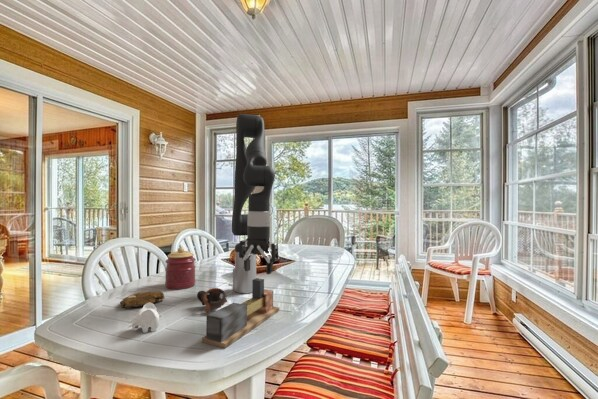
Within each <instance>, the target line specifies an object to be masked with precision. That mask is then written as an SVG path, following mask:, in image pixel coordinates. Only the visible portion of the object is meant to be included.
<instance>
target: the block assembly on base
mask: <svg viewBox="0 0 598 399" xmlns="http://www.w3.org/2000/svg"><path fill="white" fill-rule="evenodd" d="M264 296H265V305H264V306H263V307H261V308H259V309H258V310H256V311H254V312H253V313H251V314H249V315H248V316H247V305H245V304H241V303H239V302H231V303H229V304H228V305H225V306H224V307H223V306H222V307H220V309H219V308H218V309H216V311H214V312H211V313H208V314H207V315H206V325H205V326H206V334H205V336H203V337H202V338H201V343H204V344H208V345H212V346H215V347H219V348H223V349H227V348H228V347H230V346H231V345H232V344H234V343H236V342H237V341H238V340H239V339H241V338H242V337H244V336H245V335H247V334H248V333H250V332H252V330H254V329H255V328H257V327H258V326H260V325H261V324H263V323H264V322H265V321H267V320H269V319H270V318H271V317H273V316H274V315H276V314H277V313H279V312H280V306H274V291H273V290H269V289H265V288H264ZM278 311H279V312H278Z"/></svg>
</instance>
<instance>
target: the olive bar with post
mask: <svg viewBox="0 0 598 399" xmlns="http://www.w3.org/2000/svg"><path fill="white" fill-rule="evenodd" d="M264 289H265V278H257V277H256V279H254V280H253V281H252V292H251V293H252V295H251V296H252V297H251V298H249V299H248V300H245V301H244V302H242V303H240V304H245V305H247V316H248V315H249V314H251V313H253V312H254V311H256V310H258V309H259V308H261V307H263V306H264V305H265V296H264Z"/></svg>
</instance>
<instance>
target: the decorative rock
mask: <svg viewBox="0 0 598 399" xmlns="http://www.w3.org/2000/svg"><path fill="white" fill-rule="evenodd" d="M165 299H166V298H165V294H164V292H162V291H160V290H159V291H141V292H137V293H131V294H130V295H128V296H126V297H124V298H123V299H122V300H121V301H119V303H120V306H119V307H121V308H125V309H127V308H128V309H129V308H130V309H131V308H141V307H142V306H144V305H145V304H147V303H149V302H150V303H153V304H155V303H157V304H158V303H160V302H163V300H165Z"/></svg>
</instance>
